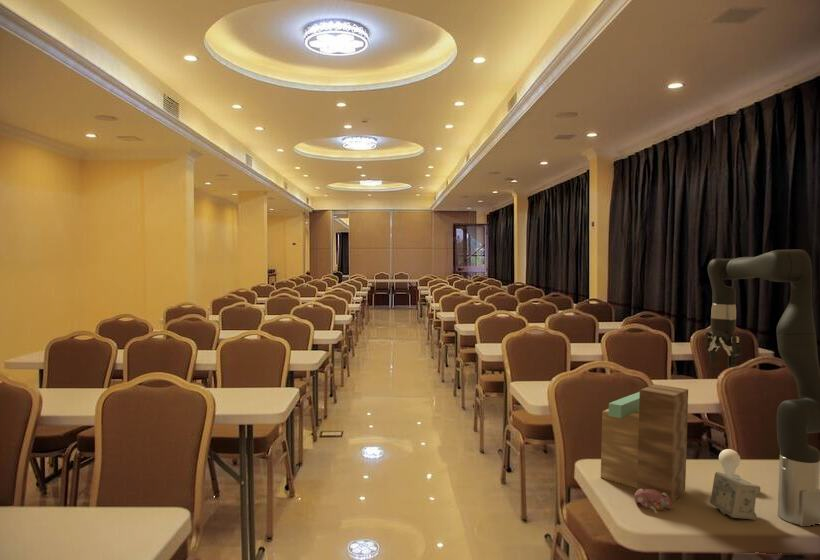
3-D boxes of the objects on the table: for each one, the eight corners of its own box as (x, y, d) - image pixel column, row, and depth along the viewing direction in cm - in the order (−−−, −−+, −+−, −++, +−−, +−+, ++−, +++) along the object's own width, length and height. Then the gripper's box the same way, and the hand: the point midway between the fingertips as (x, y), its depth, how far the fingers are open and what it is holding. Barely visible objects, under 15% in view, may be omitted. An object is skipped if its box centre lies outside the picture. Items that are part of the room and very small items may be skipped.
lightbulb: (734, 480, 190) (735, 446, 189) (743, 487, 184) (744, 453, 183) (714, 479, 190) (715, 446, 190) (722, 486, 184) (724, 452, 184)
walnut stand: (652, 483, 186) (655, 384, 185) (685, 492, 179) (688, 389, 178) (636, 494, 177) (639, 389, 176) (670, 504, 170) (673, 395, 169)
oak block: (619, 467, 200) (620, 403, 200) (654, 476, 192) (656, 410, 191) (600, 477, 190) (602, 411, 189) (637, 488, 182) (638, 418, 181)
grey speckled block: (760, 520, 160) (761, 483, 160) (733, 522, 159) (734, 484, 159) (734, 505, 170) (736, 470, 170) (709, 507, 169) (710, 471, 168)
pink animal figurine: (633, 510, 169) (633, 493, 166) (635, 498, 173) (634, 481, 170) (670, 518, 165) (671, 500, 162) (671, 505, 168) (671, 487, 165)
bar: (641, 402, 203) (642, 390, 202) (653, 404, 200) (653, 392, 200) (608, 415, 184) (608, 403, 184) (620, 418, 181) (621, 405, 181)
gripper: (699, 315, 204) (698, 361, 205) (729, 319, 191) (727, 368, 191) (718, 315, 206) (716, 360, 206) (749, 319, 192) (747, 368, 193)
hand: (721, 364), depth 199 cm, fingers open, 8 cm apart
